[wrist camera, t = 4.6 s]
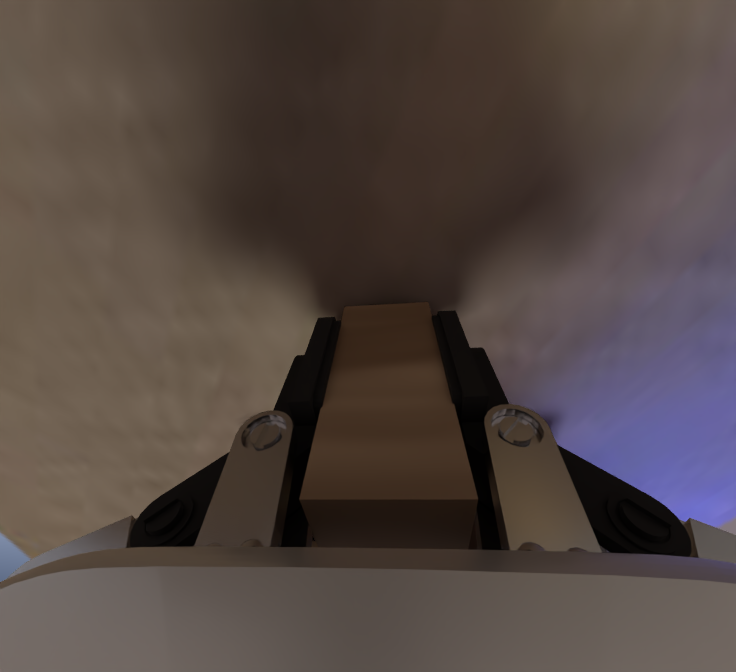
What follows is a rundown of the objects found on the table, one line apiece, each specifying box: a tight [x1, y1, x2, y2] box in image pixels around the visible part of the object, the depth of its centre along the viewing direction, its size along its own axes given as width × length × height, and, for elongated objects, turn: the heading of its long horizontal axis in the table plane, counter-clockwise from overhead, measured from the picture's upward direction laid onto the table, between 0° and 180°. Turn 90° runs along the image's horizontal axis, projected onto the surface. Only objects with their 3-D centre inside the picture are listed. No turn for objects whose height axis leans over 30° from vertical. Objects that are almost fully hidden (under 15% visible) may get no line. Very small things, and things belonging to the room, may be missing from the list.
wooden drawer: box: [299, 302, 557, 550], centre depth 14 cm, size 20×15×7 cm
